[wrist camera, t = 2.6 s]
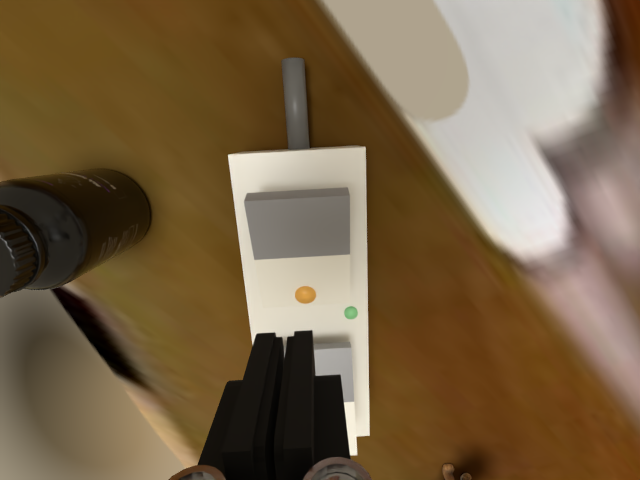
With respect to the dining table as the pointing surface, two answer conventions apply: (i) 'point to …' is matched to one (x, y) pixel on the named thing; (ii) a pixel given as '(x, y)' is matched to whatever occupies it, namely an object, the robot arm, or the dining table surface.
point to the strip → (350, 171)
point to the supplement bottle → (66, 226)
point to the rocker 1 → (301, 245)
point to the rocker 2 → (340, 362)
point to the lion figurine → (448, 473)
